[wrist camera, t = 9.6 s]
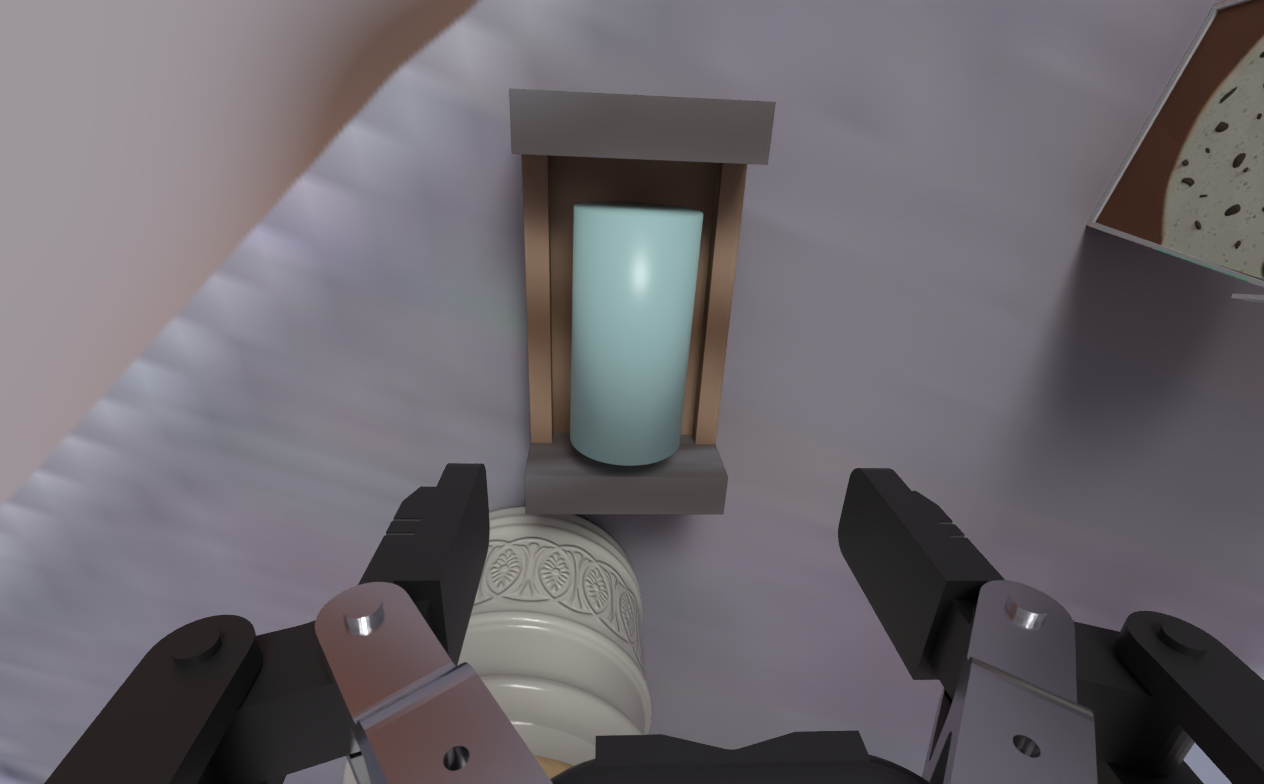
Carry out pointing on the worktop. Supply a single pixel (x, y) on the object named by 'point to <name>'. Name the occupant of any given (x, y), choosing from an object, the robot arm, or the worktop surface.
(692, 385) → the holder
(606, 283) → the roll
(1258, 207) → the food container
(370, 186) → the worktop surface
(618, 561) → the jar
